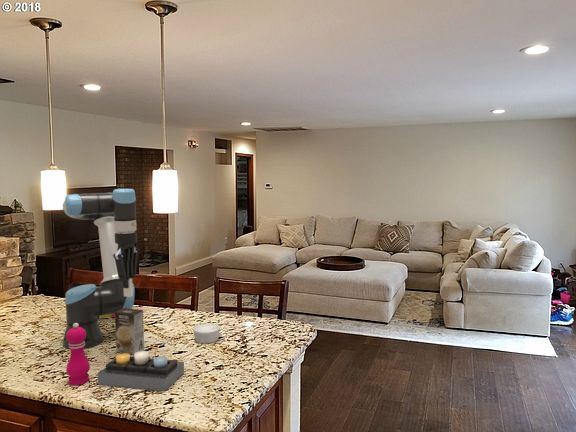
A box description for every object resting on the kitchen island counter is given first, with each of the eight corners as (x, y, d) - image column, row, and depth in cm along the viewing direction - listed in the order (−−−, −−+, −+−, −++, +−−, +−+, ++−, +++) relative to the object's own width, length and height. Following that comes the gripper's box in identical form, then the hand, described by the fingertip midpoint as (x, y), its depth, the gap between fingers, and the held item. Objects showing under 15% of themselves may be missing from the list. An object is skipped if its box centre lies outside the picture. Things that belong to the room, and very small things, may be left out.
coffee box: (115, 352, 181) (113, 311, 179) (126, 346, 187) (124, 307, 185) (135, 354, 178) (133, 314, 176) (145, 348, 184) (143, 309, 182)
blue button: (151, 380, 154) (151, 361, 153) (158, 374, 158) (157, 355, 157) (164, 381, 153) (163, 362, 152) (170, 375, 157) (169, 356, 156)
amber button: (114, 376, 157) (113, 357, 156) (121, 371, 161) (120, 352, 160) (125, 377, 156) (124, 358, 155) (133, 372, 160) (132, 353, 159)
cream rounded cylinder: (132, 374, 155) (131, 355, 154) (139, 369, 159) (138, 350, 159) (144, 375, 154) (143, 356, 154) (151, 370, 158) (150, 351, 158)
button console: (98, 384, 153) (97, 368, 152) (122, 367, 166) (121, 352, 166) (164, 391, 147) (164, 374, 147) (184, 372, 161) (183, 357, 161)
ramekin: (214, 345, 187) (214, 332, 186) (188, 343, 189) (188, 331, 188) (224, 336, 198) (223, 324, 197) (199, 334, 200) (199, 322, 199)
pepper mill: (71, 377, 159) (68, 320, 157) (93, 376, 159) (90, 319, 158) (63, 386, 152) (59, 327, 150) (86, 385, 152) (83, 326, 150)
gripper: (124, 235, 159) (127, 301, 162) (144, 229, 172) (147, 291, 175) (105, 234, 161) (108, 300, 164) (126, 229, 174) (129, 290, 176)
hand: (128, 295), depth 169 cm, fingers closed
